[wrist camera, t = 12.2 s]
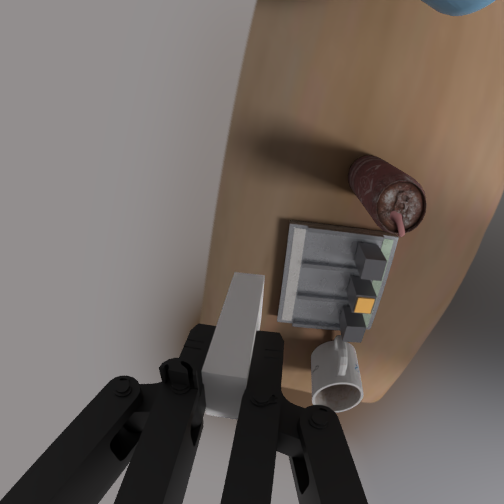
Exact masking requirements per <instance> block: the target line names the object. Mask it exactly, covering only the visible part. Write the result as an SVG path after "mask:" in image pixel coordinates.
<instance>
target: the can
mask: <svg viewBox="0 0 504 504" xmlns="http://www.w3.org/2000/svg"><path fill="white" fill-rule="evenodd" d="M348 181H349V184H350V187H351V189H352V190H353V192H354V193H355V195H356V196H357V197H358V199H359V200H360V201H361V203H362V204H363V206H364V207H365V208H366V210H367V211H368V213H369V214H370V215H371V217H372V218H373V220H374V221H375V223H376V224H377V226H379V227H380V228H381V229H383V230H384V231H386V232H389V233H395V234H398V236H399V237H402V236H404V234H405V233H407V232H410V231H412V230H413V229H415V228H416V227H417V226H418V225H419V224H420V223H421V221H422V220H423V218H424V215H425V213H426V198H425V192H424V190H423V189H422V187H421V185H420V184H419V183H418V182H417V181H416V180H415V179H414V178H412V177H411V176H409V175H407V174H406V173H404V172H403V171H401V170H399V169H398V168H396V167H394V166H393V165H391V164H389V163H387V162H386V161H384V160H382V159H381V158H378V157H376V156H368V155H367V156H363V157H360V158H359V159H357V160H356V161H355V162H354V163H353V164H352V166H351V167H350V170H349V173H348Z"/></svg>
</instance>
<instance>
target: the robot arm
mask: <svg viewBox="0 0 504 504" xmlns="http://www.w3.org/2000/svg"><path fill="white" fill-rule="evenodd" d="M421 1H423V2H424V3H426V4H427V5H429V6H430V7H432V8H433V9H435V10H436V11H438V12H440V13H443V14H447V15H451V16H462V15H467V14H470V13H473V12H476V11H478V10H480V9H482V8H484V7H486V6H488V5H489V4H491V3H492V2H494V1H495V0H421ZM264 278H265V275H257V274H247V273H238V272H235V273H234V276H233V279H232V281H231V284H230V287H229V290H228V293H227V296H226V299H225V302H224V305H223V308H222V311H221V314H220V317H219V320H218V323H217V326H212V325H205V324H198V325H196V326H195V327H194V328H193V329H192V330H191V331H190V333H189V336H188V338H187V341H186V343H185V345H184V348H183V350H182V352H181V354H180V357H179V358H173V359H169V360H167V361H165V362H164V363H162V365H161V366H160V367H159V370H160V375H161V378H162V382H160V383H155V384H139V383H138V381H137V380H136V379H134V378H133V377H130V376H119V377H116V378H114V379H112V380H111V381H110V382H109V383H108V384H107V385H106V386H105V387H104V388H103V389H102V390H101V391H100V392H99V393H98V395H97V396H96V397H95V398H94V399H93V400H92V401H91V402H90V403H89V404H88V405H87V406H86V407H85V408H84V409H83V410H82V412H81V413H80V414H79V415H78V416H77V417H76V418H75V419H74V420H73V421H72V422H71V423H70V425H69V426H68V427H67V428H66V429H65V430H64V431H63V432H62V434H60V435H59V436H58V438H57V439H56V440H55V441H54V442H53V443H52V444H51V445H50V446H49V447H48V449H47V450H46V451H45V452H44V453H43V454H42V455H41V456H40V457H39V458H38V459H37V461H36V462H35V463H34V464H33V465H32V466H31V467H30V468H29V470H28V471H27V472H26V473H25V474H24V475H23V476H22V477H21V478H20V480H19V481H18V482H17V483H16V484H15V485H14V486H13V487H12V488H11V490H10V491H9V492H8V493H7V494H6V495H5V496H4V497H3V499H2V500H1V501H0V504H98V503H99V502H100V500H101V499H102V498H103V496H104V495H105V494H106V493H107V491H108V490H109V489H110V487H111V486H112V485H113V483H114V482H115V481H116V480H117V478H118V477H119V476H120V474H121V473H122V472H123V470H124V469H125V468H126V466H127V465H128V464H129V466H128V468H127V471H126V473H125V476H124V479H123V481H122V484H121V487H120V489H119V491H118V494H117V497H116V499H115V502H114V504H182V503H183V499H184V495H185V492H186V488H187V484H188V480H189V477H190V473H191V470H192V465H193V462H194V459H195V455H196V451H197V447H198V444H199V440H200V437H201V432H202V429H203V416H204V412H205V409H206V414H207V415H213V416H219V417H225V418H231V419H238V421H237V425H236V430H235V436H234V441H233V446H232V450H231V456H230V460H229V466H228V471H227V475H226V480H225V485H224V489H223V494H222V499H221V504H270V503H271V494H272V486H273V477H274V468H275V459H276V451H278V452H280V453H283V454H286V455H288V456H289V460H290V464H291V469H292V473H293V477H294V482H295V487H296V491H297V495H298V500H299V504H368V502H367V499H366V496H365V494H364V490H363V487H362V484H361V481H360V479H359V476H358V473H357V470H356V467H355V464H354V461H353V458H352V456H351V453H350V450H349V447H348V444H347V441H346V439H345V435H344V433H343V430H342V427H341V424H340V422H339V419H338V416H337V415H336V413H335V411H333V410H332V409H331V408H329V407H327V406H324V405H312V406H309V407H307V408H302V407H300V406H297V405H294V404H292V403H290V402H289V401H288V400H287V399H286V398H285V397H284V396H283V394H282V391H281V379H282V365H283V350H284V341H283V339H282V337H281V335H280V333H276V332H266V331H259V329H260V322H261V314H262V302H263V290H264ZM129 462H130V463H129Z"/></svg>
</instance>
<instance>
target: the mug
mask: <svg viewBox="0 0 504 504" xmlns="http://www.w3.org/2000/svg"><path fill="white" fill-rule="evenodd" d="M311 375H312V403H313V405H324V406H327V407H329V408H331V409H332V410H333V411H335V412H342V411H346V410H348V409H351V408H353V407H355V406H356V405H357V404H358V403H360V401H361V400H362V398H363V388H362V383H361V377H360V371H359V366H358V361H357V356H356V350H355V348H354V347H353V346H352V345H351V344H349V343H347V342H344V341H342V337H341V335H338V336H336V337H335V339H334V341H329V342H326V343H323V344H321V345H319V346H318V347H317V348H316V349H315V350H314V351H313V353H312V355H311Z"/></svg>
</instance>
